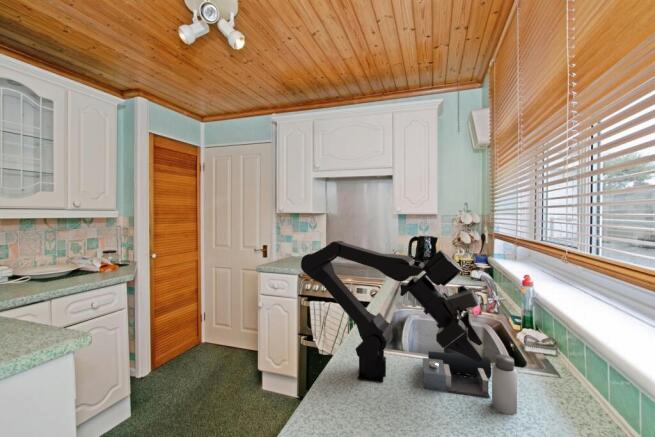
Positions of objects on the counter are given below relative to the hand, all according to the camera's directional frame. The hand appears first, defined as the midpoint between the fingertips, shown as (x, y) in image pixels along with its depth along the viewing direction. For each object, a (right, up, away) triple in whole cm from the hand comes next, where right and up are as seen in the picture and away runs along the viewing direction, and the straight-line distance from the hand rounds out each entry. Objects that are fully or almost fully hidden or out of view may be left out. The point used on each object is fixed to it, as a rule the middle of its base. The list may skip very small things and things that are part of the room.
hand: (481, 352), depth 70 cm
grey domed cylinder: (+4, -11, -2) cm, 12 cm away
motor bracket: (-3, -11, +7) cm, 14 cm away
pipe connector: (+1, -12, +17) cm, 20 cm away
